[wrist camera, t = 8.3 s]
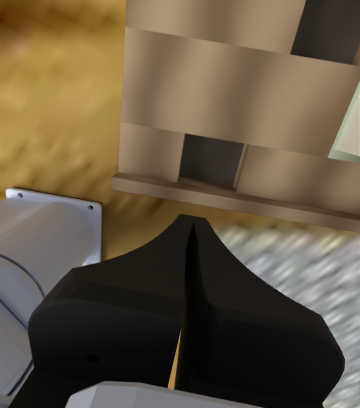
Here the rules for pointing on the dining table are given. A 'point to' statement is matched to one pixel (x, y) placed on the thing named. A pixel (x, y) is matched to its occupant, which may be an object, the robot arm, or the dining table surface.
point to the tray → (242, 106)
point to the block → (351, 132)
